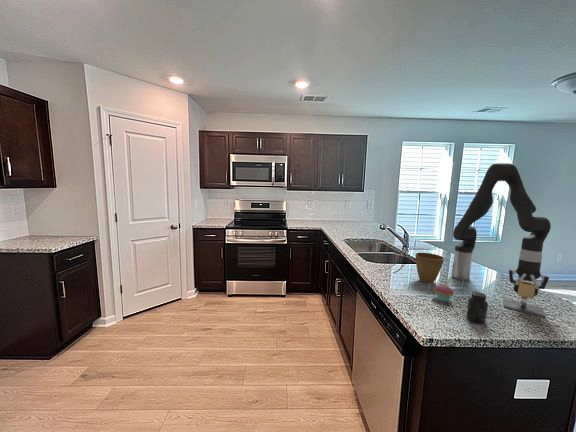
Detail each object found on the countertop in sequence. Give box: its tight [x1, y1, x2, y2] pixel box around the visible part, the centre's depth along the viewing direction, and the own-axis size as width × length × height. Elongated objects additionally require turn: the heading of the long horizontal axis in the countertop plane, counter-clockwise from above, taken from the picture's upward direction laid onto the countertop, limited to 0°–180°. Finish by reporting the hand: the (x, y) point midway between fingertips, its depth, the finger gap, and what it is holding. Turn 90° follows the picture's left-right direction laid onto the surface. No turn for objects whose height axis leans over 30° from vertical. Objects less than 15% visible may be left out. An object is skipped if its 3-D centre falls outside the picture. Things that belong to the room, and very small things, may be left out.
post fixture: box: [502, 296, 547, 318], centre depth 119 cm, size 14×10×6 cm
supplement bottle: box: [465, 291, 489, 325], centre depth 106 cm, size 7×7×12 cm
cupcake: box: [433, 277, 455, 302], centre depth 126 cm, size 9×8×12 cm
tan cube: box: [516, 280, 535, 300], centre depth 118 cm, size 6×6×6 cm
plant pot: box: [415, 252, 445, 285], centre depth 149 cm, size 15×15×16 cm
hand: (525, 293), depth 118 cm, fingers closed on tan cube, 5 cm apart
